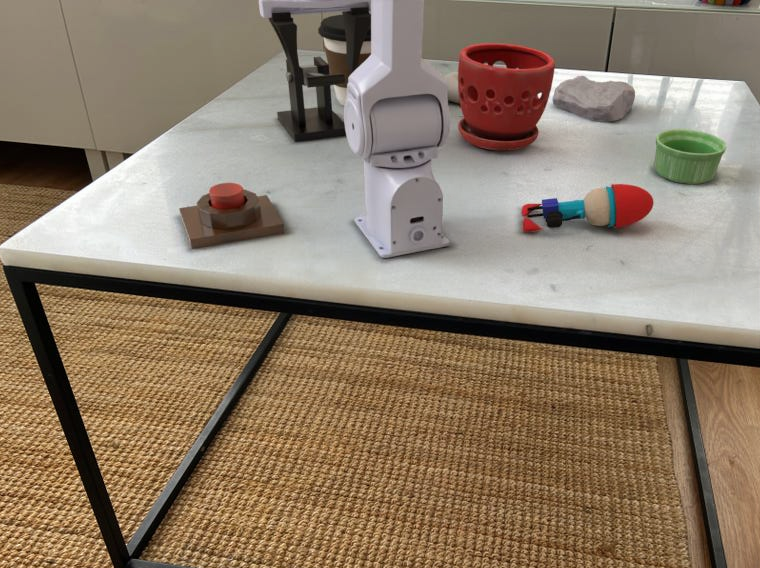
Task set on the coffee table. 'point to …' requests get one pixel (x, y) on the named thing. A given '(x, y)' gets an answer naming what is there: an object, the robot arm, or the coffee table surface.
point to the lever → (319, 77)
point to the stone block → (595, 98)
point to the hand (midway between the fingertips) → (324, 73)
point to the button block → (230, 221)
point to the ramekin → (688, 155)
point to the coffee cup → (340, 51)
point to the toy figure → (594, 208)
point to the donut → (452, 86)
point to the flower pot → (503, 94)
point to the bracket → (310, 110)
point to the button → (227, 196)
